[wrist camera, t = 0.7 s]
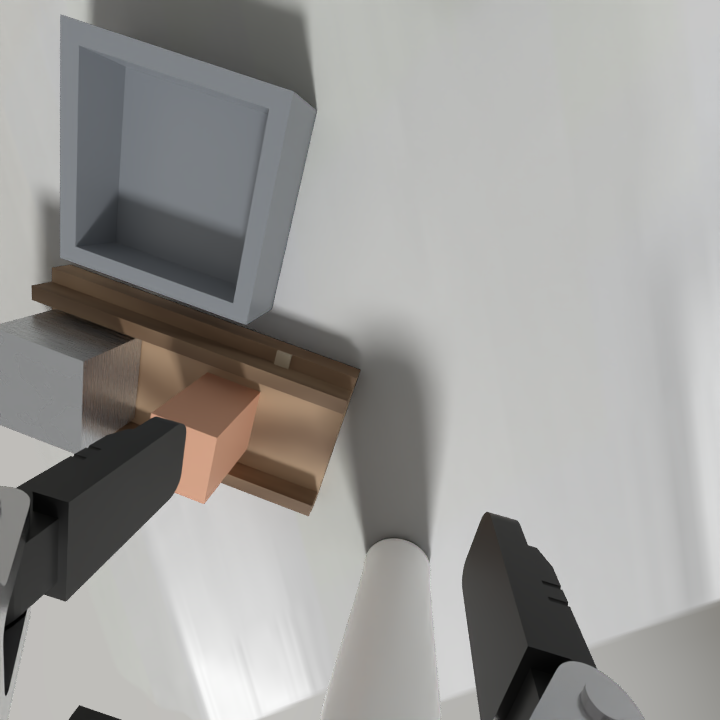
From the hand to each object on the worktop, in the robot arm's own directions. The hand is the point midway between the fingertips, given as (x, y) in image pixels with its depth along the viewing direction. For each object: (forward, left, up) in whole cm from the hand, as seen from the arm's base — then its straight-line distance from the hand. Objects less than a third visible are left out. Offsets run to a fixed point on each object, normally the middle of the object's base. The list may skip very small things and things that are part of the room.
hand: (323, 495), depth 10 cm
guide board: (+10, -12, -17) cm, 23 cm away
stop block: (+10, -9, -15) cm, 20 cm away
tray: (-4, -14, -17) cm, 22 cm away
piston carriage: (+10, -19, -15) cm, 26 cm away
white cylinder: (+19, +7, -17) cm, 26 cm away
